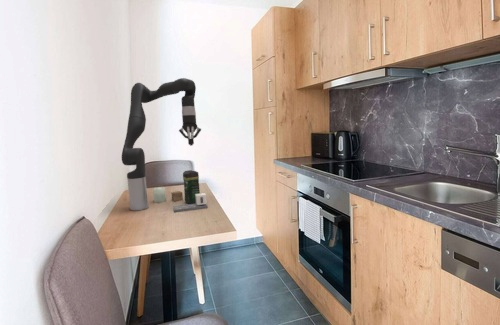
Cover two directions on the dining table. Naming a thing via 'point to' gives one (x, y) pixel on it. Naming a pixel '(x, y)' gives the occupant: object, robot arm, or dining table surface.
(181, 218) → the dining table surface
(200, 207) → the counting rail
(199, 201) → the counting knob
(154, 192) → the pale green rounded block
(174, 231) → the dining table surface
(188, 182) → the coffee jar
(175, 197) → the walnut block
